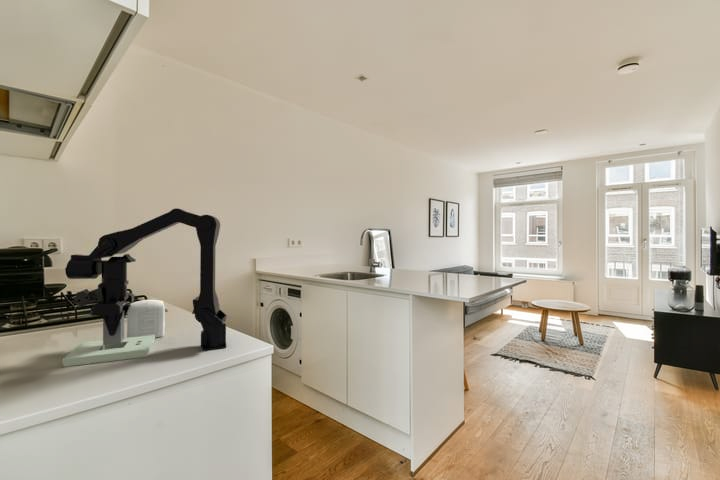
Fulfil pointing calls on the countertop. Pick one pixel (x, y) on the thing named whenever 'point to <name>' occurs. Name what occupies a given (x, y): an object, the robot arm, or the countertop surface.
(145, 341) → the outlet plate
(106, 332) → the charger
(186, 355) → the countertop surface
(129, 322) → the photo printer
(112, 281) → the robot arm
